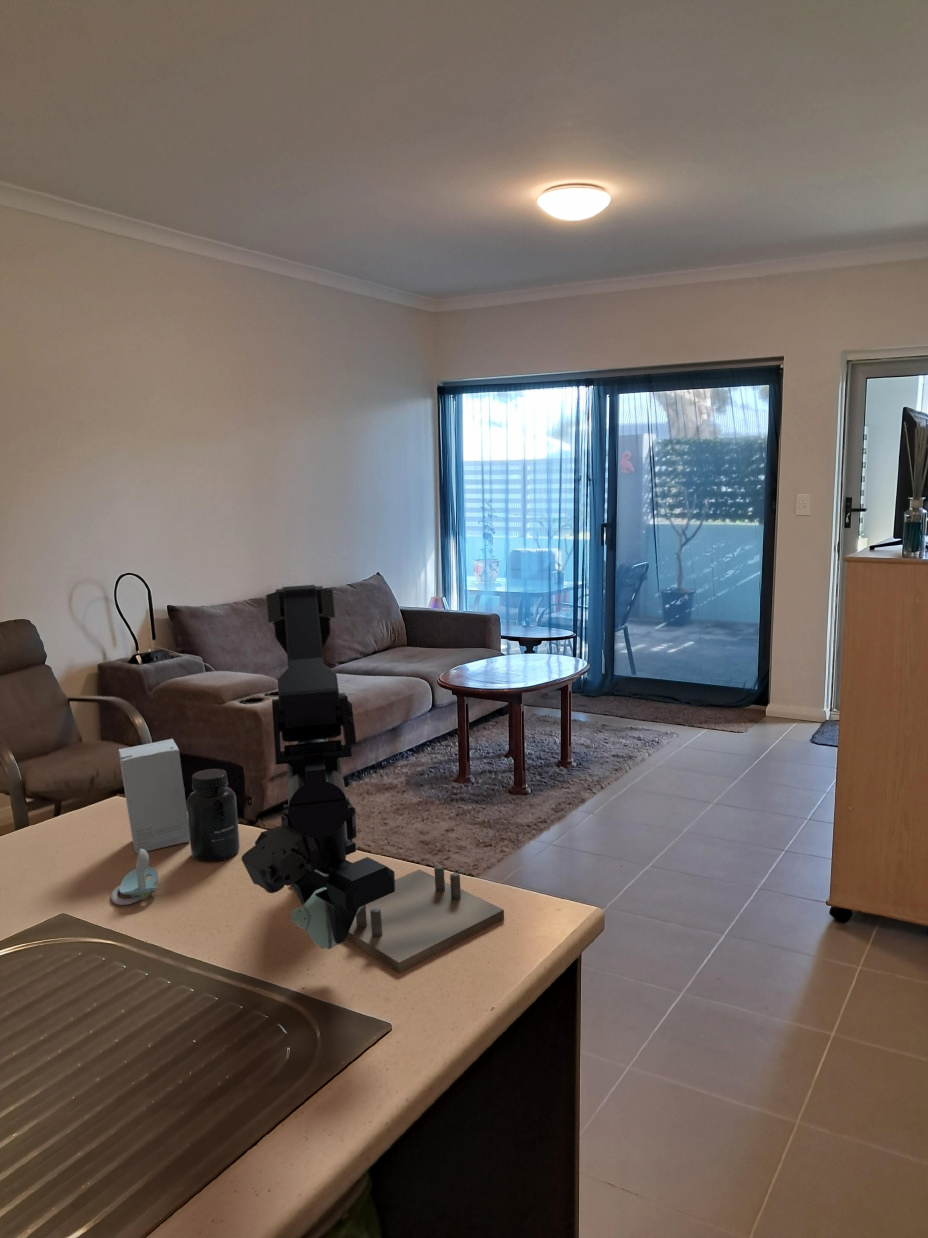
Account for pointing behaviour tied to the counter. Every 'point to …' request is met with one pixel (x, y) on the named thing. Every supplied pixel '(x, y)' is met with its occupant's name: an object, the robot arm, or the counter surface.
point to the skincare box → (155, 795)
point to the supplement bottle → (212, 817)
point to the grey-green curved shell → (315, 920)
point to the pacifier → (137, 882)
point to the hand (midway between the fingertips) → (327, 934)
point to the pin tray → (420, 919)
